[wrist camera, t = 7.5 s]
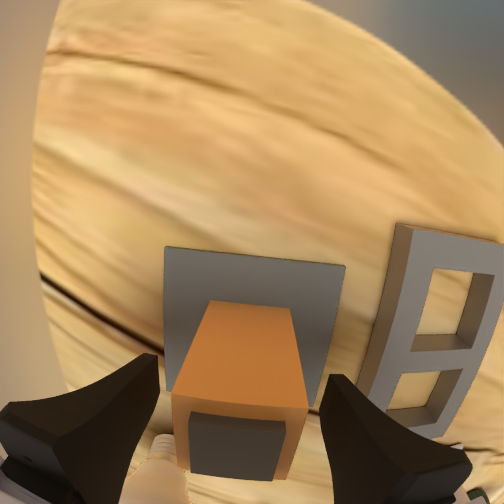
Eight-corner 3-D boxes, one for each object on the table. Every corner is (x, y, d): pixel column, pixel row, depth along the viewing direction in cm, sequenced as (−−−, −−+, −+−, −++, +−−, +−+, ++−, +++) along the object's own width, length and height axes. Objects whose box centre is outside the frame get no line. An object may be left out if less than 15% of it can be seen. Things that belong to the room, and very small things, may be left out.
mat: (312, 403, 17) (312, 406, 17) (167, 388, 17) (166, 391, 17) (344, 265, 15) (345, 266, 15) (166, 246, 15) (164, 247, 15)
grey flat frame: (432, 420, 17) (442, 436, 15) (339, 429, 17) (344, 449, 15) (496, 241, 14) (516, 248, 12) (396, 222, 14) (413, 228, 12)
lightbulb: (211, 412, 17) (179, 564, 7) (222, 467, 19) (204, 587, 8) (122, 404, 18) (55, 525, 7) (145, 458, 19) (104, 564, 8)
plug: (278, 372, 16) (286, 489, 8) (207, 364, 16) (174, 477, 8) (289, 308, 15) (311, 419, 7) (210, 300, 15) (166, 403, 7)
